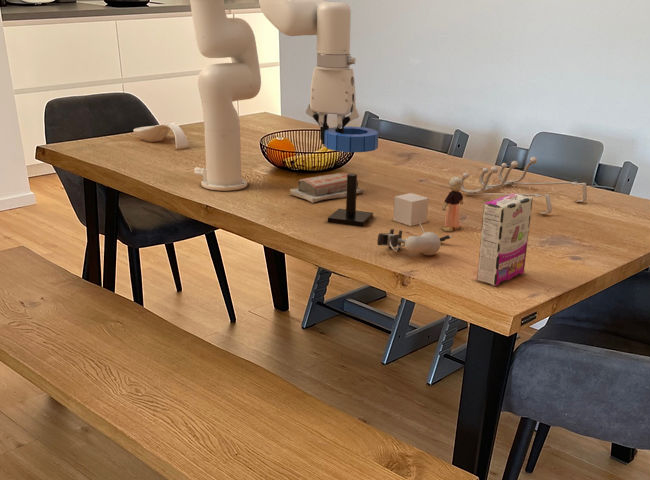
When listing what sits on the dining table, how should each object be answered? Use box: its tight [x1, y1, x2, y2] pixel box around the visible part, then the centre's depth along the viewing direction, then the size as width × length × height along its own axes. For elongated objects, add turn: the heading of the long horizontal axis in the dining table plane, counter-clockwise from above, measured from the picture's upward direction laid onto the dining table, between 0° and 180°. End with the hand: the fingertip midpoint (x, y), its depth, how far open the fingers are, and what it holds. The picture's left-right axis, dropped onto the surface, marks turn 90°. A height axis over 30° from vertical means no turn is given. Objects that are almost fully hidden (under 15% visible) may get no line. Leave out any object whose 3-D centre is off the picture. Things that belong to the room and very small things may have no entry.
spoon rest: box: [132, 121, 189, 150], centre depth 272 cm, size 24×12×7 cm, turn 47°
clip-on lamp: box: [376, 223, 454, 256], centre depth 183 cm, size 12×6×18 cm
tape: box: [324, 125, 380, 153], centre depth 194 cm, size 12×12×4 cm
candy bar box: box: [476, 192, 534, 287], centre depth 167 cm, size 11×5×16 cm, turn 138°
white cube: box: [392, 192, 430, 227], centre depth 203 cm, size 6×6×6 cm
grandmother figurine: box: [441, 175, 465, 232], centre depth 197 cm, size 8×4×13 cm, turn 148°
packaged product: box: [289, 172, 364, 203], centre depth 223 cm, size 18×5×10 cm
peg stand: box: [327, 172, 374, 228], centre depth 201 cm, size 9×9×11 cm
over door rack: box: [460, 156, 588, 215], centre depth 226 cm, size 22×29×10 cm
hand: (331, 143), depth 196 cm, fingers closed on tape, 2 cm apart
